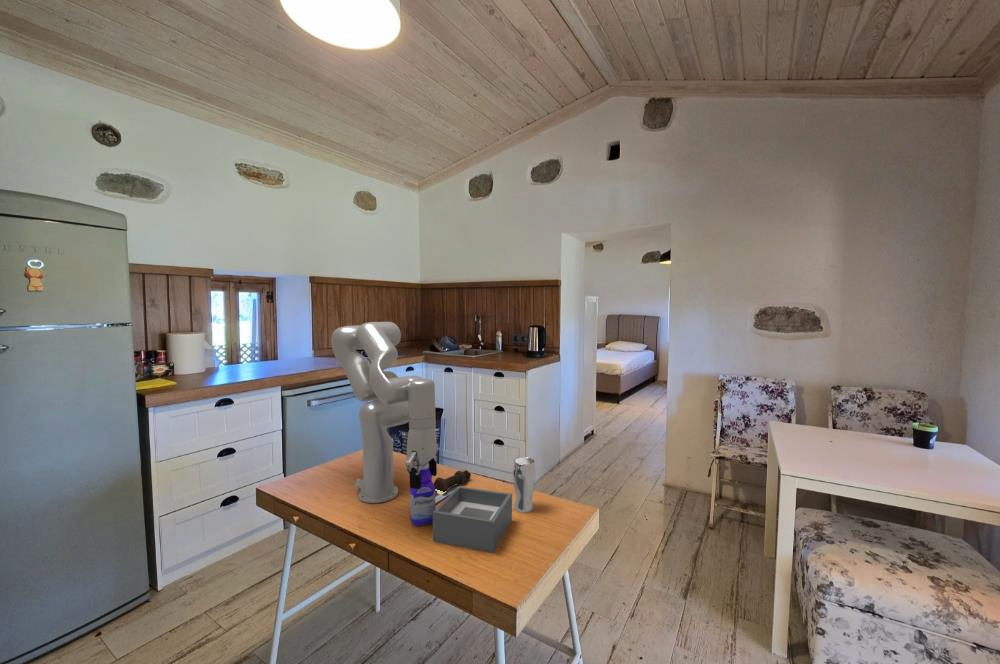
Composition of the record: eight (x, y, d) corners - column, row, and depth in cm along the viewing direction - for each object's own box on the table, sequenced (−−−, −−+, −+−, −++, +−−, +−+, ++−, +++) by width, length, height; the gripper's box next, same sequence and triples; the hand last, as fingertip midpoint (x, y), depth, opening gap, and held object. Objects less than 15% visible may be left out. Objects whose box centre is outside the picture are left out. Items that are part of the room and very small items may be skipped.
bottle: (412, 529, 117) (411, 468, 116) (408, 519, 123) (407, 461, 122) (437, 523, 120) (437, 464, 119) (432, 514, 125) (432, 457, 124)
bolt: (469, 485, 151) (440, 498, 139) (460, 475, 154) (431, 488, 141) (476, 473, 149) (447, 486, 137) (466, 463, 152) (437, 475, 140)
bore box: (432, 541, 111) (432, 512, 111) (458, 511, 127) (458, 486, 127) (493, 552, 106) (493, 522, 106) (511, 520, 122) (512, 493, 122)
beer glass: (508, 508, 130) (508, 460, 129) (522, 500, 135) (522, 455, 134) (525, 515, 125) (525, 466, 124) (539, 507, 130) (540, 460, 129)
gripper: (424, 414, 129) (426, 469, 130) (394, 429, 112) (396, 492, 113) (447, 416, 127) (448, 471, 127) (419, 431, 110) (421, 495, 111)
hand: (423, 481), depth 120 cm, fingers open, 9 cm apart
